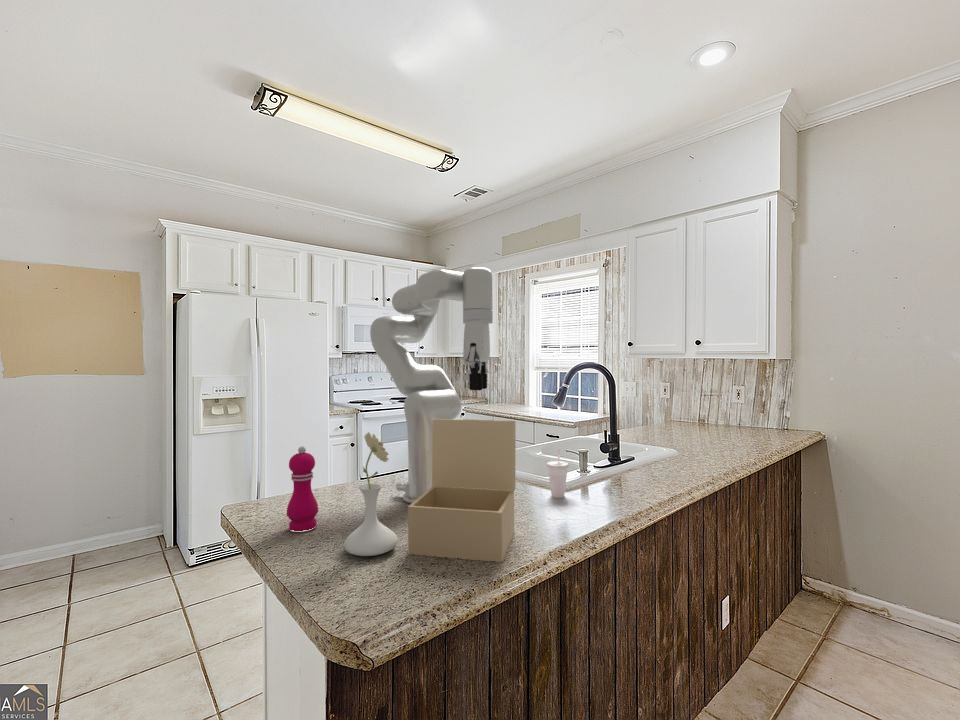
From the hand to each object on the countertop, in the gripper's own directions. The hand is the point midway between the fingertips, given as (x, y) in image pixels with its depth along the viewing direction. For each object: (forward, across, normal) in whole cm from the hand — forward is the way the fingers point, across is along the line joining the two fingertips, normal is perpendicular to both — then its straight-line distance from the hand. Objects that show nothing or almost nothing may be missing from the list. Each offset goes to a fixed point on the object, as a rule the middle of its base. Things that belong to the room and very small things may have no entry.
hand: (478, 388), depth 119 cm
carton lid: (+15, +7, 0) cm, 17 cm away
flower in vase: (+34, +23, -19) cm, 45 cm away
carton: (+33, +16, 0) cm, 37 cm away
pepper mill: (+34, +15, -41) cm, 55 cm away
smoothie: (+34, -24, +18) cm, 45 cm away
